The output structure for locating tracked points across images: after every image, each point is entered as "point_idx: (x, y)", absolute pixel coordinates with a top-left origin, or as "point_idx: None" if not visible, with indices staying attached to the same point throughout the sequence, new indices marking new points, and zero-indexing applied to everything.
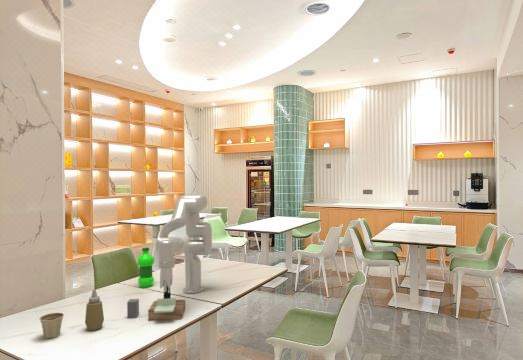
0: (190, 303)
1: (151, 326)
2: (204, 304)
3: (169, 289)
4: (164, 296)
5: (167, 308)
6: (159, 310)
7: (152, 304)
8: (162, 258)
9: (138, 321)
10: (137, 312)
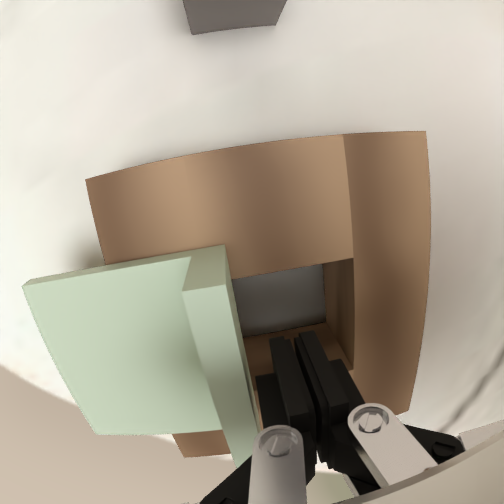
0: (460, 352)
1: (34, 248)
2: (421, 422)
3: (353, 491)
4: (279, 387)
5: (119, 394)
6: (52, 337)
7: (306, 142)
8: None
9: (108, 90)
10: (219, 15)
